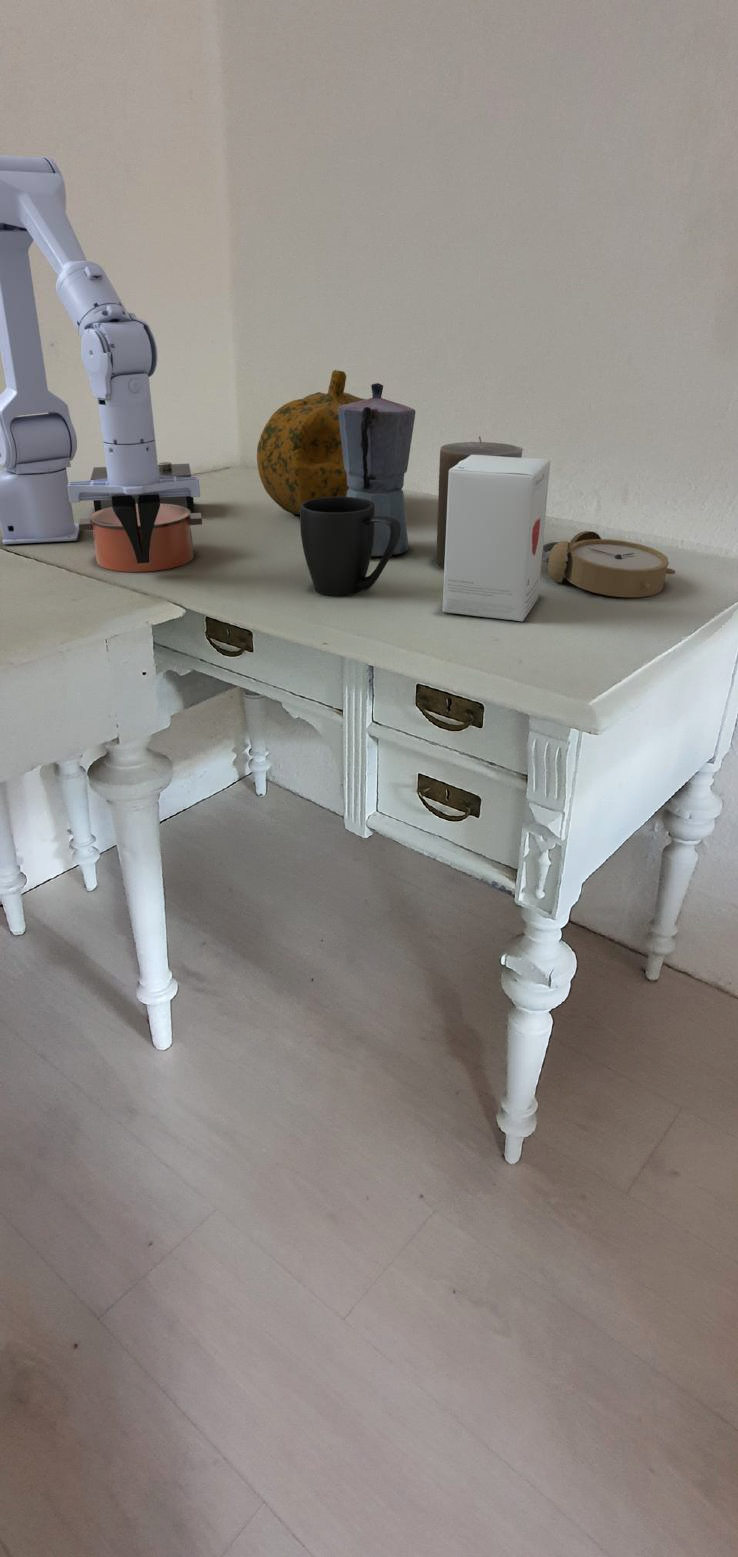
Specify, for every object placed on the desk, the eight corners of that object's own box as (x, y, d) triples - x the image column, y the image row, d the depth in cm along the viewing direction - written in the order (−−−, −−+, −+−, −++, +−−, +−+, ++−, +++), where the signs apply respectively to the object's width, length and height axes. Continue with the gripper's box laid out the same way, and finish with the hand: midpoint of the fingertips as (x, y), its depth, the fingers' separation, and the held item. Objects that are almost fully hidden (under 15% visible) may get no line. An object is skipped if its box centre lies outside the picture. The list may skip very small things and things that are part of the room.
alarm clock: (647, 579, 103) (526, 533, 110) (633, 621, 106) (517, 574, 112) (686, 556, 111) (571, 514, 118) (672, 595, 114) (561, 552, 120)
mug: (373, 611, 103) (373, 521, 99) (287, 591, 110) (284, 506, 105) (416, 592, 109) (418, 506, 105) (332, 574, 115) (330, 492, 111)
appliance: (96, 522, 138) (89, 473, 135) (99, 508, 146) (92, 461, 143) (195, 517, 141) (190, 469, 137) (192, 503, 148) (188, 457, 145)
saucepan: (82, 575, 115) (75, 529, 113) (87, 548, 126) (81, 506, 123) (207, 568, 118) (203, 522, 115) (202, 542, 128) (198, 500, 126)
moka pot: (415, 536, 131) (419, 377, 121) (408, 569, 117) (411, 393, 107) (345, 535, 131) (343, 376, 122) (330, 567, 118) (326, 392, 108)
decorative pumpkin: (246, 496, 149) (250, 355, 139) (377, 499, 154) (389, 364, 144) (267, 533, 132) (273, 376, 122) (413, 536, 138) (430, 386, 128)
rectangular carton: (524, 623, 100) (536, 474, 93) (440, 614, 102) (445, 468, 95) (541, 597, 107) (553, 457, 100) (462, 589, 110) (468, 452, 103)
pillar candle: (448, 577, 114) (452, 444, 107) (427, 555, 123) (430, 430, 115) (526, 572, 116) (536, 441, 109) (501, 550, 124) (508, 428, 117)
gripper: (58, 449, 103) (77, 574, 109) (196, 443, 105) (206, 566, 112) (63, 438, 109) (81, 557, 115) (194, 433, 111) (204, 550, 118)
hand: (143, 560), depth 114 cm, fingers closed, pressing on saucepan
